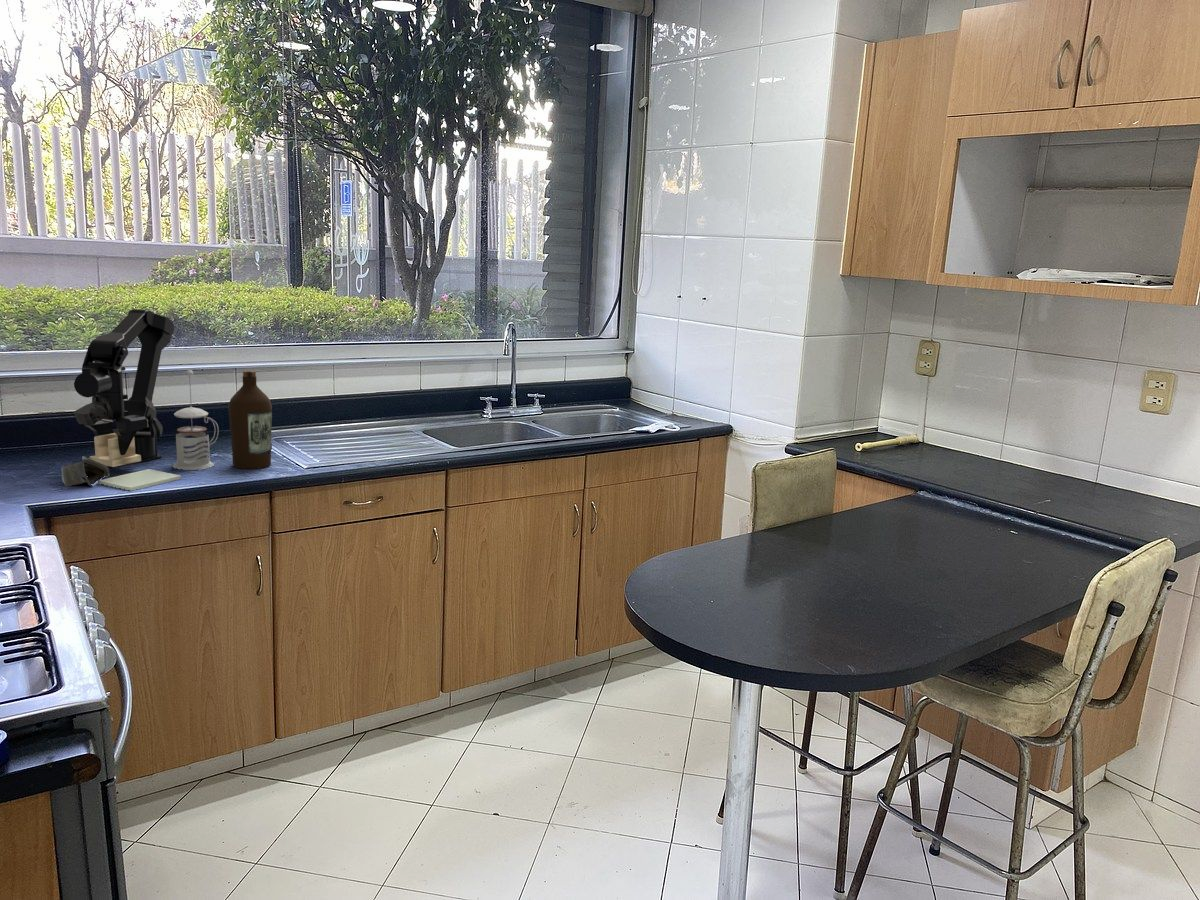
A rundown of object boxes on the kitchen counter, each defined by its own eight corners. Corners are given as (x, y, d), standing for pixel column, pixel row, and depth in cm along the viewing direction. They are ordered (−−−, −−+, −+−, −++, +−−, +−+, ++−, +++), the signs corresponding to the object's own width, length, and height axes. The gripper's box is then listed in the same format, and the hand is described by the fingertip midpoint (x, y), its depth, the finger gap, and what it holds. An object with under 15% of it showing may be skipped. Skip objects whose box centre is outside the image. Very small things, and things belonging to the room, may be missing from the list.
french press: (165, 464, 232) (160, 368, 227) (209, 458, 241) (205, 366, 236) (183, 471, 226) (179, 373, 221) (227, 465, 235) (224, 370, 229)
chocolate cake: (81, 476, 219) (52, 451, 209) (110, 469, 220) (83, 443, 209) (80, 509, 214) (50, 484, 204) (109, 501, 215) (81, 476, 204)
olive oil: (221, 464, 235) (218, 370, 230) (256, 458, 244) (254, 367, 238) (247, 472, 229) (244, 375, 224) (281, 465, 238) (279, 371, 233)
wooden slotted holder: (118, 456, 228) (117, 431, 227) (141, 460, 225) (139, 435, 223) (90, 462, 221) (88, 436, 219) (112, 467, 218) (111, 440, 216)
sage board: (149, 472, 224) (148, 469, 224) (181, 478, 220) (180, 475, 219) (98, 483, 211) (97, 480, 211) (130, 491, 207) (130, 487, 207)
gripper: (52, 390, 215) (57, 453, 218) (106, 399, 208) (111, 464, 211) (95, 385, 225) (99, 446, 228) (148, 393, 218) (151, 456, 221)
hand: (114, 453), depth 222 cm, fingers closed on wooden slotted holder, 6 cm apart
